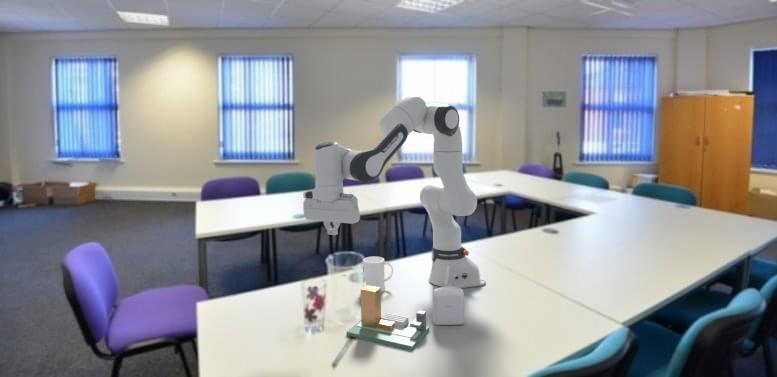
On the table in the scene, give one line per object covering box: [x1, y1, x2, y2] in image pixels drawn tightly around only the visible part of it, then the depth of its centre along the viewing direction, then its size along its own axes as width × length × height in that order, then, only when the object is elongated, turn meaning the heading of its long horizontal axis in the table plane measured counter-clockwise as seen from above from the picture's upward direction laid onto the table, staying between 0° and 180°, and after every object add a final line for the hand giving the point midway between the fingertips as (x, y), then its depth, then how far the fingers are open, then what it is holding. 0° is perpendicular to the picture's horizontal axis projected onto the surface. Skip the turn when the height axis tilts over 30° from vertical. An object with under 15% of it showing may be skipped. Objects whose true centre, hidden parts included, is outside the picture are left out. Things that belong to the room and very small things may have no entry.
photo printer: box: [432, 286, 465, 326], centre depth 157 cm, size 10×4×12 cm, turn 90°
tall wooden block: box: [360, 285, 395, 331], centre depth 152 cm, size 10×4×12 cm, turn 65°
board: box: [346, 309, 430, 351], centre depth 151 cm, size 22×14×6 cm, turn 65°
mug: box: [362, 255, 394, 293], centre depth 187 cm, size 12×8×12 cm
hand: (332, 234), depth 158 cm, fingers closed
